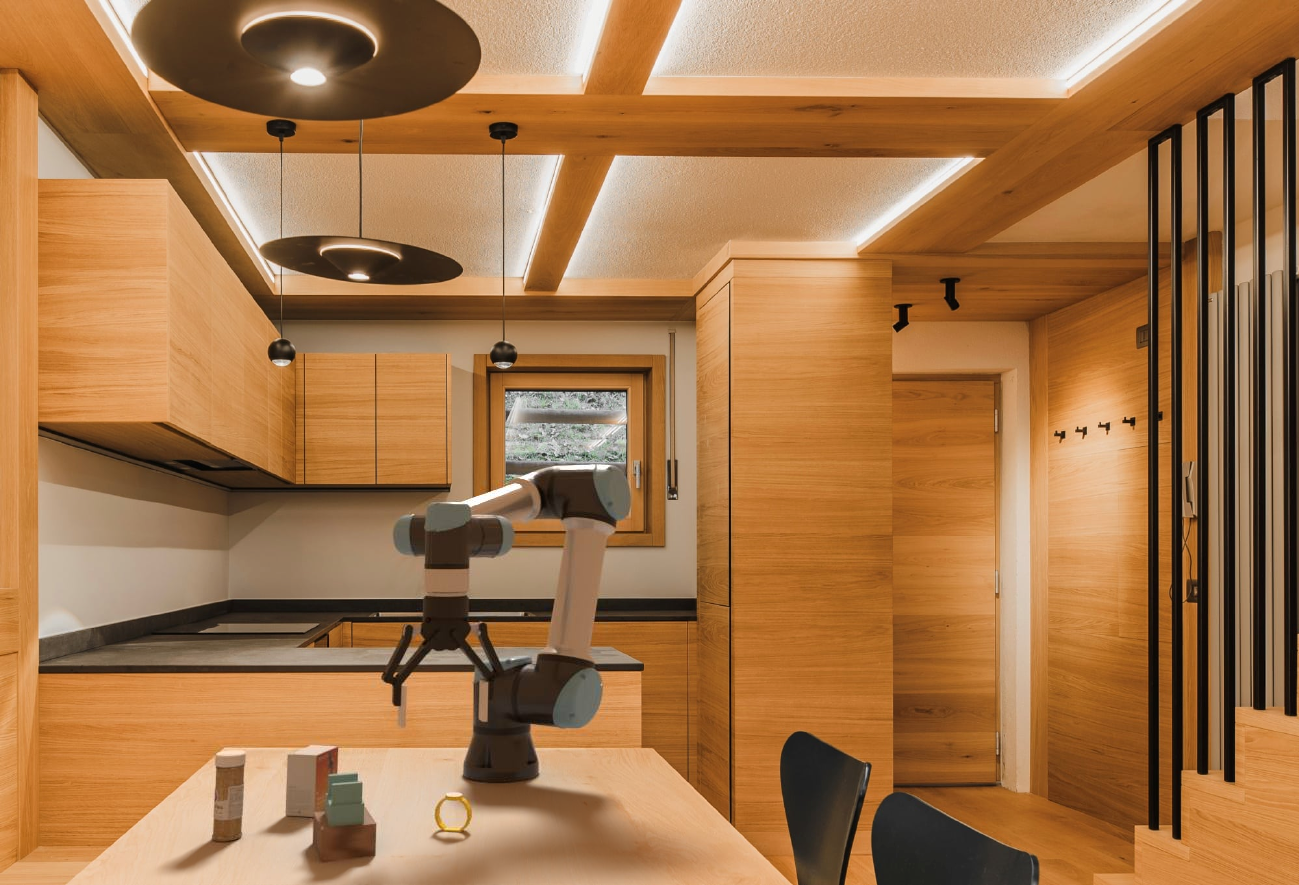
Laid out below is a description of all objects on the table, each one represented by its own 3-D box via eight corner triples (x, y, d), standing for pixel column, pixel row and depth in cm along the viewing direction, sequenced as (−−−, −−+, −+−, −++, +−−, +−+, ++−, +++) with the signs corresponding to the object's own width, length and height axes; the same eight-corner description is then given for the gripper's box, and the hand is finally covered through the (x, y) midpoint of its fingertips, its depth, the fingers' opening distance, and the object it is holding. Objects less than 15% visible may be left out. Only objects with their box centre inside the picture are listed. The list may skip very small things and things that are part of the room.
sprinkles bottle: (206, 838, 162) (210, 752, 163) (233, 832, 166) (237, 747, 167) (220, 844, 159) (224, 756, 160) (248, 837, 163) (251, 752, 164)
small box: (314, 818, 174) (316, 755, 175) (284, 816, 175) (286, 753, 176) (337, 806, 182) (339, 745, 182) (308, 804, 183) (310, 744, 184)
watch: (472, 831, 168) (475, 794, 169) (466, 836, 165) (469, 798, 166) (437, 826, 169) (441, 790, 170) (431, 831, 167) (434, 794, 167)
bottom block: (364, 839, 164) (365, 807, 164) (375, 857, 154) (376, 823, 155) (312, 845, 160) (313, 812, 161) (320, 864, 151) (321, 829, 152)
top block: (357, 810, 162) (358, 771, 163) (363, 823, 155) (365, 783, 155) (324, 813, 160) (326, 774, 161) (329, 827, 153) (330, 786, 153)
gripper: (511, 591, 179) (508, 714, 178) (366, 594, 169) (362, 724, 167) (524, 594, 173) (521, 721, 171) (374, 597, 162) (370, 733, 160)
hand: (443, 723), depth 169 cm, fingers open, 13 cm apart
